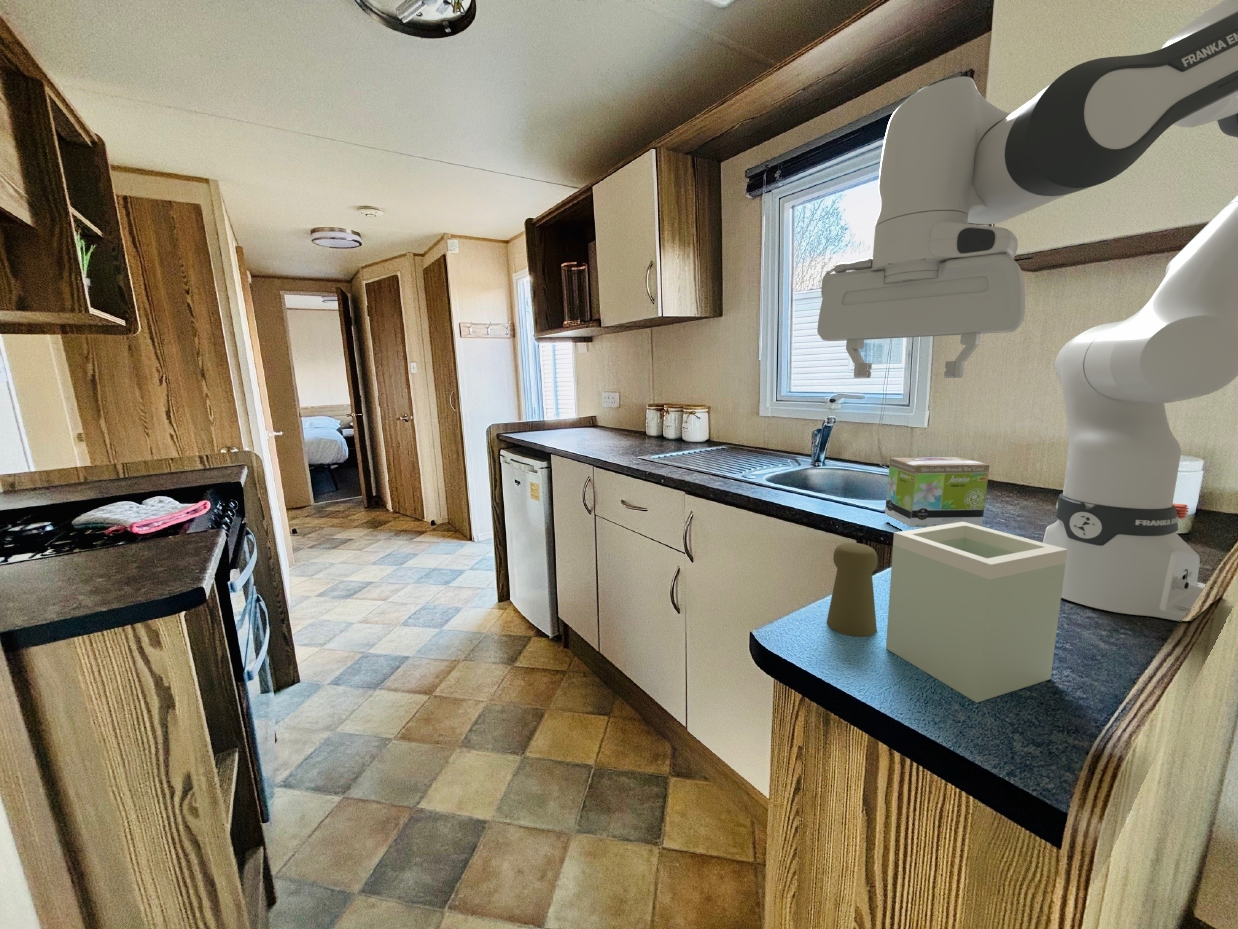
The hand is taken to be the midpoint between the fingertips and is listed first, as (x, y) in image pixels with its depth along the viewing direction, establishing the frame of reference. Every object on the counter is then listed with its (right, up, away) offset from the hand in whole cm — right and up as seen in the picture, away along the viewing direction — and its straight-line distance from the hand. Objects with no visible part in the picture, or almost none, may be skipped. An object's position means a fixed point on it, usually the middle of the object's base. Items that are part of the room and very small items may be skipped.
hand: (905, 377), depth 58 cm
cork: (-3, -31, +8) cm, 33 cm away
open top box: (+6, -33, -1) cm, 33 cm away
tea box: (+33, -24, +48) cm, 63 cm away
